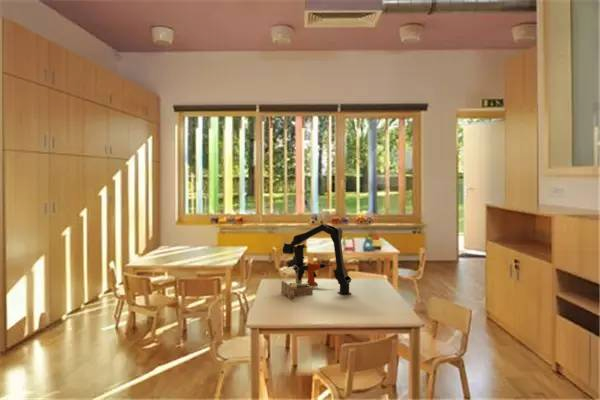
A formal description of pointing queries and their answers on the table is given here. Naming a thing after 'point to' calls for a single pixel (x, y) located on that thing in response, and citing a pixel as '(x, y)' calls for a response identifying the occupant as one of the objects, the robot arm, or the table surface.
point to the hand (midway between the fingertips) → (298, 279)
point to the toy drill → (311, 272)
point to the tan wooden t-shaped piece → (295, 290)
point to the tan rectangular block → (293, 285)
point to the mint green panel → (298, 281)
